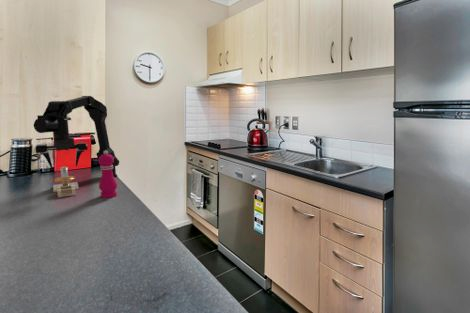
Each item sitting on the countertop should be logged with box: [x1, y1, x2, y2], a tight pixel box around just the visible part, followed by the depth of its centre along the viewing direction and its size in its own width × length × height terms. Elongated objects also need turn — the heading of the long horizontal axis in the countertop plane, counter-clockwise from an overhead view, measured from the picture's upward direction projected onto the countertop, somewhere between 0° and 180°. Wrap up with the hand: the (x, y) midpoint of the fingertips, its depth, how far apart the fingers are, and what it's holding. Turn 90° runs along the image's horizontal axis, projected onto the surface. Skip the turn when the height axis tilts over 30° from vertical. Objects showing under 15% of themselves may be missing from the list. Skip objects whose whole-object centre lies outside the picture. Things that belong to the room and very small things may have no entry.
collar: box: [56, 185, 77, 198], centre depth 122 cm, size 7×7×3 cm
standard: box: [52, 166, 80, 193], centre depth 131 cm, size 10×10×10 cm
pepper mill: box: [97, 150, 118, 199], centre depth 119 cm, size 7×7×20 cm
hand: (64, 167), depth 120 cm, fingers open, 9 cm apart
